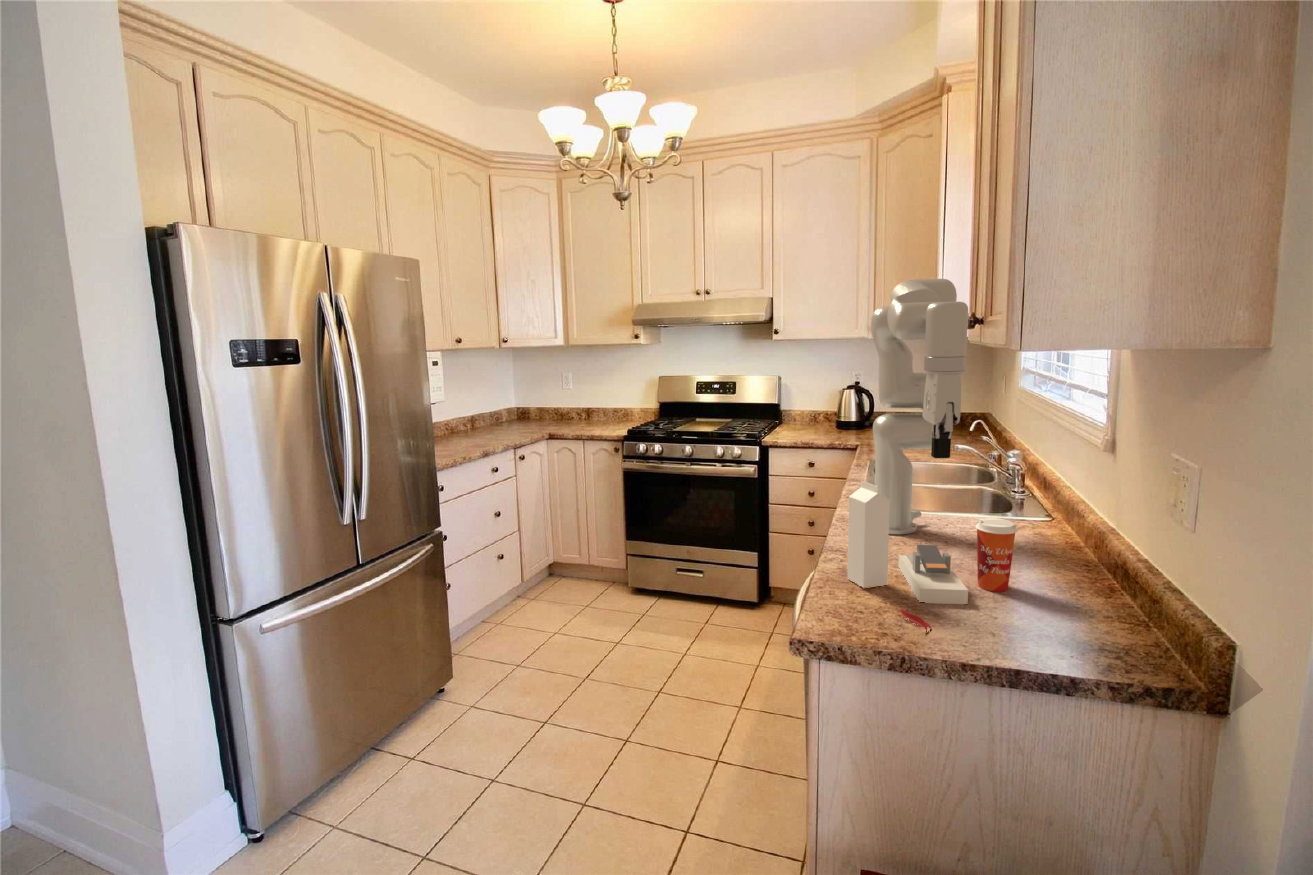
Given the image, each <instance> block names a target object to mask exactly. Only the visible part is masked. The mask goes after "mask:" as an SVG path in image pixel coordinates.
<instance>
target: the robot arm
mask: <svg viewBox="0 0 1313 875" xmlns="http://www.w3.org/2000/svg"><path fill="white" fill-rule="evenodd" d="M957 297H958V295H957V288H956V286H955V284H954V283H953V282H952V281H951V280H949V279H948V278H947V279H946V278H924V279H923V278H922V279H907V280H904V281H901V282H900V283H898V284H896V285H895V286H894V288H893V290H892V291H891V294H890V304H889V305H888V306H882V307H878V308H877V309H875V310H874V311H873V313H872V314H871V318H870V331H871V332H870V333H871V335H872V337H871V338H872V340H873V343H874V346H875V348H876V352H877V356H878V399H879V403H880V405H881V406H883V408H884V407H885V408H887V409H921V410H922V413H906V412H905V413H886V414H881V415H879V416H878V417H876V418H875V420H874V421H873V423H872V436H873V437H872V438H873V444H874V458H875V460H874V461H875V463H874V464H875V466H874V468H875V469H874V485H876V486H878V493H879V494H880V495H882V496H884V497H886V498H887V499H889V500H890V509H889V535H909V534H913V533H916V531H917V528H918V525H917V524H916V523H914V522H913V520H915V519H917V518H921V517H922V512H921V511H920V510H914V511H913V510H912V501H913V500H912V494H913V493H912V492H913V464H912V462H911V460H910V459H909V458H908V456H907V455H905V453H904V451H905V450H931V451H930V452H931V453H930V455H931V457H932V458H933V459H950V458H951V448H952V444H951V442H952V432H953V431H954V425H958V424H960V420H961V412H962V379H961V378H962V374H966V369H967V368H966V367H967V351H968V350H967V346H968V328H969V325H968V323H969V306H968V305H967V303H966V302H964V301H957V299H958V298H957ZM903 340H904V341H903ZM905 340H906V341H910V340H924V358H923V372H914V370H913V363H914V362H913V360H914V356H913V353H912V351H911V349H910V348H909V346H908V345H907V344H906V343H905Z"/></svg>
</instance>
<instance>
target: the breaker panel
mask: <svg viewBox="0 0 1313 875" xmlns="http://www.w3.org/2000/svg"><path fill="white" fill-rule="evenodd" d="M941 556H942V558H943V560H944V562H945V564H946V566H947V573H926V571H925V568H924V566H923V564H922V561H921V559H920V558H921V556H920V554H919V553H918V552H917V551H913V552H912V555H911V554H906V555H905V554H904V555H901V554H899V555H898V565H897V566H898V567H899V568H900V569H899V568H898V569H899V571H900V570H901V571H900V573H901V572H902V573H903V574H902V573H901V574H902V576H903V575H904V576H903V578H904V577H905V578H906V579H905V578H904V579H905V581H906V580H907V581H906V582H908V583H909V584H908V583H907V584H908V586H909V585H910V586H911V588H912V589H911V588H910V589H911V591H912V590H913V591H914V593H913V594H914V596H915V595H916V596H915V598H916V597H917V598H916V599H917V601H918V600H919V601H918V603H919V602H925V603H924V604H938V605H940V604H941V605H942V604H943V605H964V604H969V603H968V600H969V589H968V588H967V587H966V585H965V584H964V583H963V582H962V581H961V579H960V578H959V577H958V576H957V574H955V572H954V571H953V569H952V568H951V562H952V561H951V560H952V559H951V558H952V556H951V555H950V553H949V552H942V554H941ZM910 586H909V587H910ZM913 591H912V592H913Z"/></svg>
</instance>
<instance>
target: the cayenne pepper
mask: <svg viewBox="0 0 1313 875" xmlns="http://www.w3.org/2000/svg"><path fill="white" fill-rule="evenodd" d="M899 611H901V613H902V614H903V615H904V616H905V617H903V618H909V621H910V622H911V623H915V624H916V625H917V624H918V625H917V626H919V627H925V629H926V632H927V627H929V628H931V629H932V626H931V625H930V624H929V623H928V622H927V621H925V620H924V619H923V618H922V617H921V616H918V615H916V614H914V613H910V612H909V611H907V610H905V609H903V608H900V610H899ZM907 620H908V619H907ZM911 623H910V624H911ZM917 626H916V627H917ZM919 627H918V628H919ZM926 632H925V633H926Z"/></svg>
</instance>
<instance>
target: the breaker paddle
mask: <svg viewBox="0 0 1313 875" xmlns="http://www.w3.org/2000/svg"><path fill="white" fill-rule="evenodd" d="M916 552H918V553H919V554H920V556H921V558H920V559H921V561H922V564H923V566H924V568H925V571H926V573H947V566H946V564H945V562H944V560H943V558H942V554H941V552H940V550H939V548H938V546H937V544H917V545H916Z"/></svg>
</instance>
